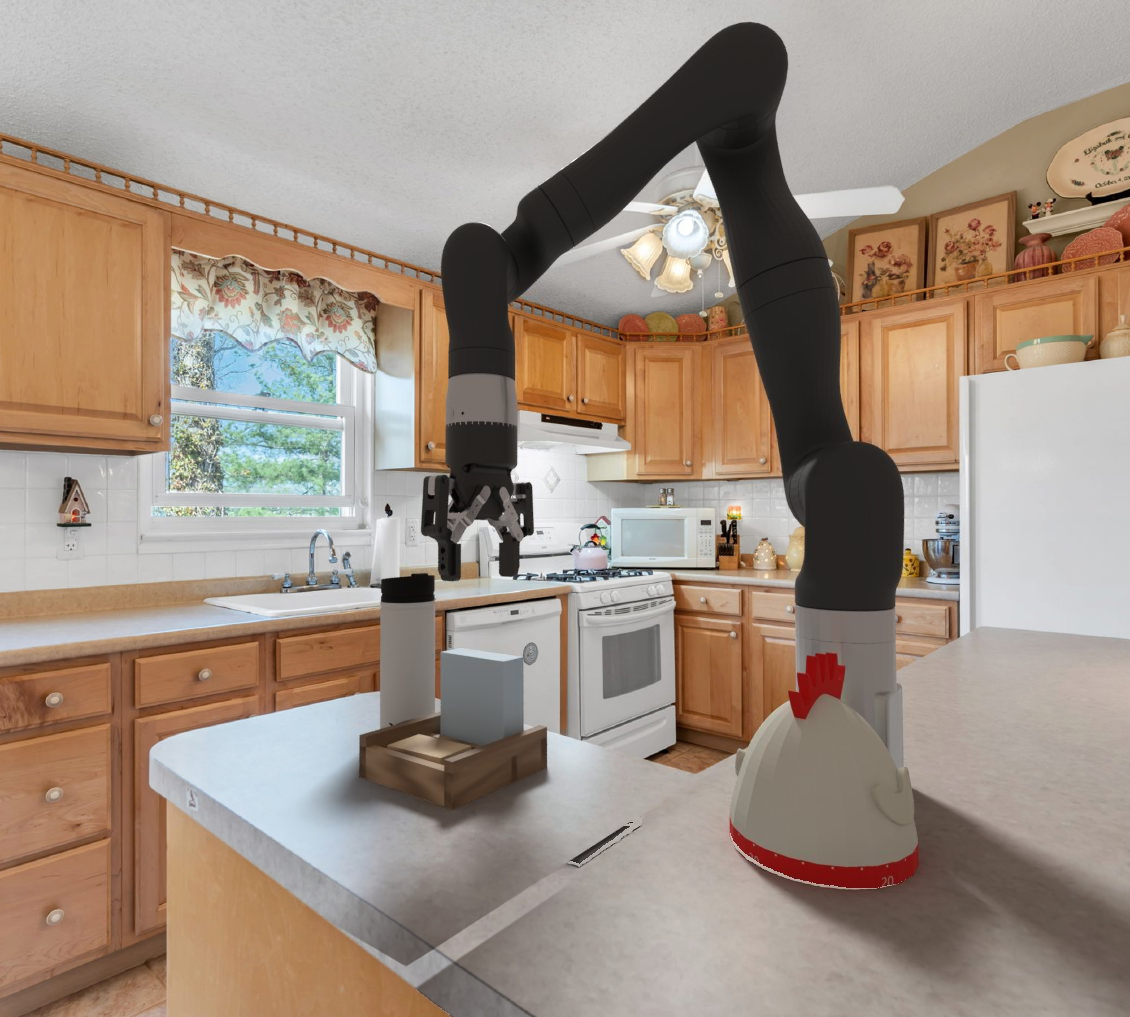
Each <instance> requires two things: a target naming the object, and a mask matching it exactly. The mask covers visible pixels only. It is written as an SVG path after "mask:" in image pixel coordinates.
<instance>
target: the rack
mask: <svg viewBox="0 0 1130 1017" xmlns="http://www.w3.org/2000/svg"><path fill="white" fill-rule="evenodd" d="M440 723H441V711H439V712H435V714H431V715H428V716H424V717H421V718H417V719H414V720H410V721H407V722H403V723H400V724H396V725H393V726H389V727H386V728H382V729H380V728H379V729H376V730H372V731H368V732H365V733H361V734H359V737H358V738H359V739H358V740H359V743H358V744H359V747H358V748H359V753H358V755H359V760H358V761H359V762H358V763H359V764H358V765H359V767H358V768H359V769H358V770H359V773H358V777H359V778H361V779H364V780H367V781H369V782H372V783H375V784H378V785H380V786H381V785H382V786H384V787H387V788H390V789H392V790H395V791H398V792H401V793H403V794H406V795H410V796H413V797H415V798H418V799H421V800H424V801H426V802H429V803H432V804H435V805H437V806H440V807H443V808H446V809H449V810H455V809H457V808H459V807H462V806H463V805H466V804H468V803H470V802H472V801H475V800H477V799H480V798H482V797H484V796H486V795H488V794H490V793H493V792H495V791H497V790H500V789H502V788H504V787H507V786H509V785H511V784H513V783H516V782H518V781H520V780H522V779H525V778H527V777H529V776H531V775H533V774H536V773H537V772H540V771H542V770H545V769H547V768H548V727H547V726H544V725H540V724H539V725H537V726H533V727H531V728H528V729H524V731H522V732H519V733H517V734H514V735H511V736H508V737H506V738H503V739H500V740H497V741H495V742H492V743H489V744H486V745H483V746H481V745H477V744H473V743H469V742H465V741H462V740H458V739H454V738H450V737H446V736H442V735H440ZM418 734H421V735H425V736H429V737H434V738H438V739H443V740H447V741H452V742H456V743H461V744H465V745H470V746H471V750H470V751H467V752H464V753H461V754H459V755H456V756H453V757H450V758H448V759H445V760H444V765H441V764H437V763H434V762H431V761H427V760H424V759H421V758H417V757H414V756H410V755H407V754H404V753H400V752H397V751H394V750H390V749H387V745H389V744H392V743H395V742H398V741H401V740H404V739H406V738H409V737H412V736H415V735H418Z"/></svg>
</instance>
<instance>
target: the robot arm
mask: <svg viewBox="0 0 1130 1017" xmlns="http://www.w3.org/2000/svg"><path fill="white" fill-rule="evenodd" d="M788 55H789V54H788V52H787V47H786V45H785V43H784V41H783V39H782V37H781V36H780V35H779V34H778V33H777V31H776V30H774V29H772V28H771V27H769V26H768V25H765V24H762V23H759V22H753V21H744V22H737V23H734V24H731V25H729V26H726V27H724V28H722V29H721V30H719V31H718V32H717V33H715V34H713V36H711V37H710V38H709V39H708V40H707V41H705V42H704V44H702V45H701V46H700V47H699V48H698V49H697V50H696V51H695V52H694V53H693V54H692V55H691V56H690V57H689V58H688V59H687V60H686V61H685V62H684V63H683V64H682V65H681V66H680V67H679V68H678V69H677V70H676V71H675V72H674V73H673V74H672V75H671V76H670V77H669V78H668V79H667V80H666V81H665V82H664V83H663V84H662V85H661V86H659V87H658V88H657V89H656V90H655V91H654V92H652V94H651V95H650V96H649V97H647V99H645V101H643V102H642V103H641V104H640V105H639V106H638V107H637V108H636V109H635V110H634V111H632V112H631V113H630V114H629V115H628V116H627V117H625V119H624V120H622V121H621V122H620V123H619V124H618V125H617V126H615V127H614V128H613V129H612V130H611V131H610V132H608V133H607V134H606V135H604V137H602V138H601V139H600V140H598V141H597V142H596V143H594V145H592V146H591V147H590V148H588V149H587V150H586V151H584V152H583V153H581V154H580V155H579V156H578V157H577V158H576V157H575V159H574V160H572V161H571V162H569V163H568V164H566V165H564V167H562V168H560V169H559V170H558V171H556V172H555V173H553V174H552V175H551V176H549V177H548V178H547V179H545V180H544V181H543V182H541V183H540V184H538V185H537V186H536V187H534V188H532V189H531V190H530V191H528V192H527V193H526V194H525V195H524V196H523V197H521V200H519V202H518V204H517V209H516V215H515V216H516V217H515V219H514V220H513V221H512V223H511V224H509V226H508V227H507V228H505V229H504V230H503V231H502V232H501V233H500V232H499V231H498V230H497V229H495V228H494V227H493V226H492V225H489V224H487V223H485V222H484V223H483V222H481V221H480V222H479V221H471V222H466V223H463V224H460V225H459V226H458V227H457V228H455V229H454V230H453V231H451V233H450V234H449V236H448V237H447V239H446V241H445V243H444V246H443V250H442V253H441V258H440V259H441V260H440V277H441V290H442V296H443V305H444V310H445V318H446V323H447V327H448V339H449V341H448V356H447V357H448V358H447V359H448V360H447V361H448V364H447V365H448V368H447V372H448V374H447V375H448V376H447V379H448V380H447V391H446V396H445V428H444V429H445V434H444V435H445V438H444V439H445V440H444V441H445V443H444V444H445V445H444V446H445V447H444V448H445V452H444V453H445V455H444V458H445V460H444V461H445V466H446V467H447V468H448V469H450V470H449V475H447V474H436V475H434V474H433V475H426V476H424V478H423V481H422V483H423V484H422V499H421V500H422V501H421V519H420V520H421V522H420V523H421V524H420V533H421V535H422V536H423V537H429V538H432V539H433V540H435V541H436V542H437V571H438V574H439V576H440V579H441V581H443V582H459V581H460V580H461V579H462V543H459V542H460V540H461V539H462V537H463V535H464V533H465V531H466V530H467V528H468V527H470V526H472V525H473V523H474V521H487V522H488V524H489V525H490V526H491V527H493V528H494V529H495V531H496V533H497V534H498V537H499V539H500V540H501V541H502V542H498V574H499V576H500V577H504V578H505V577H506V578H513V577H517V576H518V574H519V570H520V565H521V564H520V561H521V560H520V559H521V558H520V557H521V556H520V551H521V547H520V545H521V542H522V541H523V539H524V538H526V537H528V536H533V534H534V533H535V527H534V526H535V521H534V498H533V497H534V494H533V490H534V489H533V484H532V483H531V481H519V482H517V481H516V482H513V479H512V471H513V470H514V469H515V468H517V466H518V422H519V421H518V415H519V413H518V410H519V409H518V397H517V388H516V344H515V336H514V333H513V329H512V328H511V324H510V321H509V305H510V304H512V303H513V302H514V301H516V300H517V299H519V298H520V297H521V296H522V295H523V294H525V293H526V292H527V291H528V290H529V289H530V288H531V287H532V286H533V285H534V284H536V282H537V281H538V280H539V279H540V278H542V276H543V275H544V274H545V273H546V272H547V271H548V270H549V268H550V267H551V266H552V265H553V264H554V263H555V262H556V261H557V260H558V259H559V257H561V256H562V255H564V254H566V253H568V252H569V251H571V250H572V249H573V248H575V247H576V246H578V245H579V244H581V243H582V242H584V241H585V240H587V239H588V238H590V237H591V236H592V235H594V234H595V233H597V232H598V231H599V230H601V229H602V228H603V227H605V226H606V225H607V224H608V223H610V222H611V221H612V220H614V219H615V218H616V217H617V216H618V215H619V214H620V213H621V212H622V211H623V210H624V209H625V208H627V206H628V205H629V204H630V203H631V202H633V200H634V199H635V198H636V197H637V196H638V195H639V194H640V193H641V192H642V191H643V189H645V187H647V185H648V184H649V183H650V182H651V181H652V180H653V178H654V177H655V176H656V175H657V174H658V173H659V172H660V171H661V170H662V169H663V168H665V167H666V166H667V164H669V162H671V161H672V160H673V159H675V157H676V156H678V155H679V154H680V153H681V152H683V151H684V150H685V149H687V148H688V147H690V146H691V145H692V144H694V143H696V146H697V149H698V151H699V153H700V156H701V159H702V161H703V163H704V167H705V169H706V172H707V174H708V177H709V180H710V182H711V184H712V187H713V189H714V193H715V196H716V200H717V202H718V206H719V209H720V214H721V218H722V226H723V232H724V238H725V243H726V249H727V251H728V252H727V253H728V258H729V262H730V267H731V271H732V275H733V276H732V277H733V280H734V284H735V286H734V287H735V290H736V293H737V297H738V301H739V305H740V309H741V312H742V316H743V321H744V324H745V327H746V330H747V334H748V337H749V340H750V344H751V348H752V350H753V354H754V359H755V363H756V365H757V369H758V373H759V376H760V378H761V382H762V385H763V388H764V391H765V394H766V397H767V401H768V404H769V407H770V411H771V414H772V419H773V423H774V428H775V433H776V441H777V446H778V448H777V449H778V454H779V460H780V462H779V463H780V468H781V474H782V482H783V488H784V495H785V500H786V503H787V507H788V509H789V510H790V512H791V515H792V516H793V518H794V519H795V520H796V521H797V523H799V524H800V525H801V526H802V527H803V528H804V548H803V559H802V566H801V569H800V571H799V573H798V575H797V576H796V578H795V582H794V628H795V629H794V632H795V639H794V640H795V641H794V642H795V643H794V644H795V692H799V688H798V681H797V672H799V673H806V657H807V655H810V656H815V653H820V654H826V652H829V653H837V655H838V665H844V666H845V677H844V683H843V688H842V694H841V699H840V700H841V701H842V702H844V703H846V704H847V705H848V706H850V707H851V708H852V709H854V710H855V711H856V712H857V713H858V714H859V715H861V716H862V717H863V718H864V719H865V720H866V721H867V722H868V723H869V724H870V726H871V727H872V728H873V729H874V730H875V732H876V733H877V734H878V736H879V737H880V738H881V740H882V741H883V743H884V744H885V746H886V748H887V749H888V751H889V753H890V755H891V756H892V758H893V760H894V762H895V765H896V767H897V768H901V767H905V766H904V764H905V761H904V760H905V758H904V757H905V756H904V715H903V714H904V709H903V708H904V707H903V704H904V703H903V702H904V701H903V698H904V697H903V685H902V684H901V683H899V682H898V681H897V679H898V678H897V676H898V675H897V641H896V638H897V635H896V631H897V630H896V627H897V626H896V592H897V588H898V586H899V583H900V581H901V580H902V579H901V578H902V575H903V570H904V550H905V548H904V547H905V545H904V544H905V492H904V482H903V479H902V476H901V473H900V470H899V468H898V466H897V464H896V462H895V461H894V459H893V458H892V457H891V456H890V455H889V454H888V453H887V452H886V451H885V450H883V449H882V448H880V447H879V446H878V445H875V444H872V443H870V442H866V441H862V440H861V441H859V440H858V441H857V440H854V438H853V435H852V432H851V429H850V425H849V422H848V419H847V416H846V413H845V408H844V406H843V405H844V404H843V401H842V400H843V399H842V393H841V357H842V355H841V353H842V352H841V351H842V350H841V349H842V318H841V316H842V315H841V308H840V300H839V295H838V291H837V288H836V284H835V281H834V276H833V273H832V269H831V266H830V262H829V258H828V255H827V251H826V248H825V246H824V244H823V243H824V242H823V241H822V239H821V236H820V235H819V233H818V231H817V230H816V228H815V226H814V224H813V223H812V222H811V220H810V219H809V217H808V216H807V214H806V213H805V212H804V210H803V209H802V207H801V206H800V205H799V203H798V202H797V200H796V199H795V197H794V195H793V193H792V192H791V189H790V188H789V185H788V181H787V179H786V175H785V173H784V167H783V163H782V158H781V153H780V149H779V143H778V137H777V136H778V135H777V134H778V133H777V128H776V127H777V126H776V125H777V124H776V120H777V118H776V117H777V112H778V110H779V106H780V103H781V101H782V97H783V94H784V90H785V87H786V84H787V79H788V70H789V56H788ZM449 497H450V498H449ZM449 499H451V500H450V501H449ZM521 514H522V516H523V517H522V519H523V520H522V521H523V524H521ZM897 682H898V683H897Z"/></svg>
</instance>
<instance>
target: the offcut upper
mask: <svg viewBox="0 0 1130 1017" xmlns="http://www.w3.org/2000/svg"><path fill="white" fill-rule="evenodd" d="M387 749H390V750H394V751H397V752H400V753H404V754H407V755H410V756H414V757H417V758H421V759H424V760H427V761H431V762H434V763H437V764H441V765H444V760H445V759H448V758H450V757H453V756H456V755H459V754H461V753H464V752H467V751H470V750H471V746H470V745H465V744H461V743H456V742H452V741H447V740H443V739H438V738H434V737H429V736H425V735H421V734H418V735H415V736H412V737H409V738H406V739H404V740H401V741H398V742H395V743H392V744H389V745H387Z"/></svg>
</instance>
